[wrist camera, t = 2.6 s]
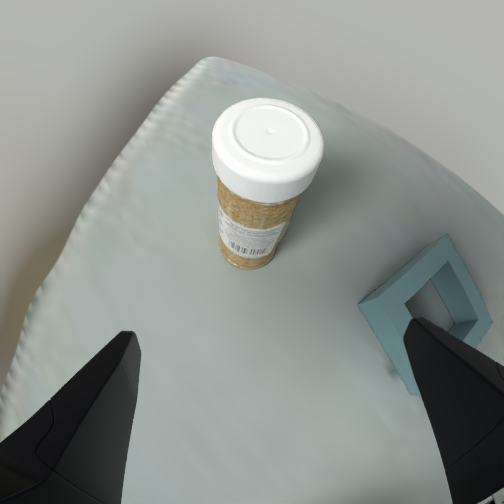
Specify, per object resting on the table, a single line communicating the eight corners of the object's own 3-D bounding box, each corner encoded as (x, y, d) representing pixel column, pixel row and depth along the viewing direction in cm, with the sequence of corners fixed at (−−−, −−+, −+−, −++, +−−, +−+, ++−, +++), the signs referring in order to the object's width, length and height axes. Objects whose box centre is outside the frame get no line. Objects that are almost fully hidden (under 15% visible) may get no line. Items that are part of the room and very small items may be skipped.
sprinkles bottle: (284, 233, 24) (341, 122, 11) (259, 282, 22) (301, 201, 10) (236, 208, 24) (246, 81, 11) (207, 254, 23) (187, 147, 10)
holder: (410, 394, 20) (433, 398, 17) (357, 304, 23) (377, 297, 19) (469, 326, 23) (492, 322, 19) (426, 246, 25) (447, 233, 21)
